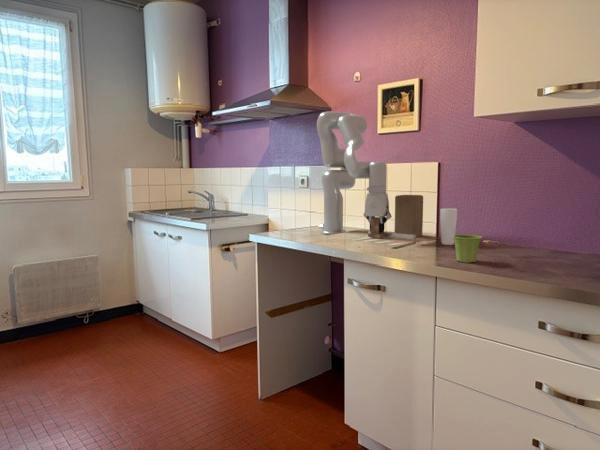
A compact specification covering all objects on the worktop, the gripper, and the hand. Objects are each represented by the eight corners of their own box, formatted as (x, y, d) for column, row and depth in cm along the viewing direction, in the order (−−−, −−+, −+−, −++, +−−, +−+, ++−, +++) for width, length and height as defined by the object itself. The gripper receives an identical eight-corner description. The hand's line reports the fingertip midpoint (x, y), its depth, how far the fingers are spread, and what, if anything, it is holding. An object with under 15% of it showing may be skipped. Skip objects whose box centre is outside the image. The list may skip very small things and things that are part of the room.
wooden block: (414, 241, 194) (415, 196, 192) (393, 239, 200) (394, 195, 198) (423, 238, 202) (424, 195, 200) (402, 236, 208) (403, 194, 206)
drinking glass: (458, 245, 182) (459, 209, 180) (442, 245, 182) (443, 209, 180) (452, 243, 189) (453, 208, 187) (436, 243, 189) (438, 208, 187)
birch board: (349, 243, 190) (349, 233, 190) (370, 238, 202) (370, 230, 202) (396, 248, 175) (396, 239, 174) (415, 244, 187) (415, 234, 186)
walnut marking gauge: (367, 236, 195) (368, 217, 194) (374, 235, 198) (374, 216, 197) (379, 238, 190) (379, 218, 189) (385, 236, 194) (386, 217, 193)
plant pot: (452, 258, 156) (452, 233, 155) (480, 259, 153) (481, 235, 152) (450, 263, 147) (451, 237, 146) (481, 264, 144) (482, 238, 143)
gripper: (356, 190, 195) (356, 231, 197) (389, 191, 184) (388, 234, 186) (366, 189, 200) (365, 229, 202) (398, 190, 189) (398, 232, 191)
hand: (376, 231), depth 194 cm, fingers closed on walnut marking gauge, 4 cm apart
